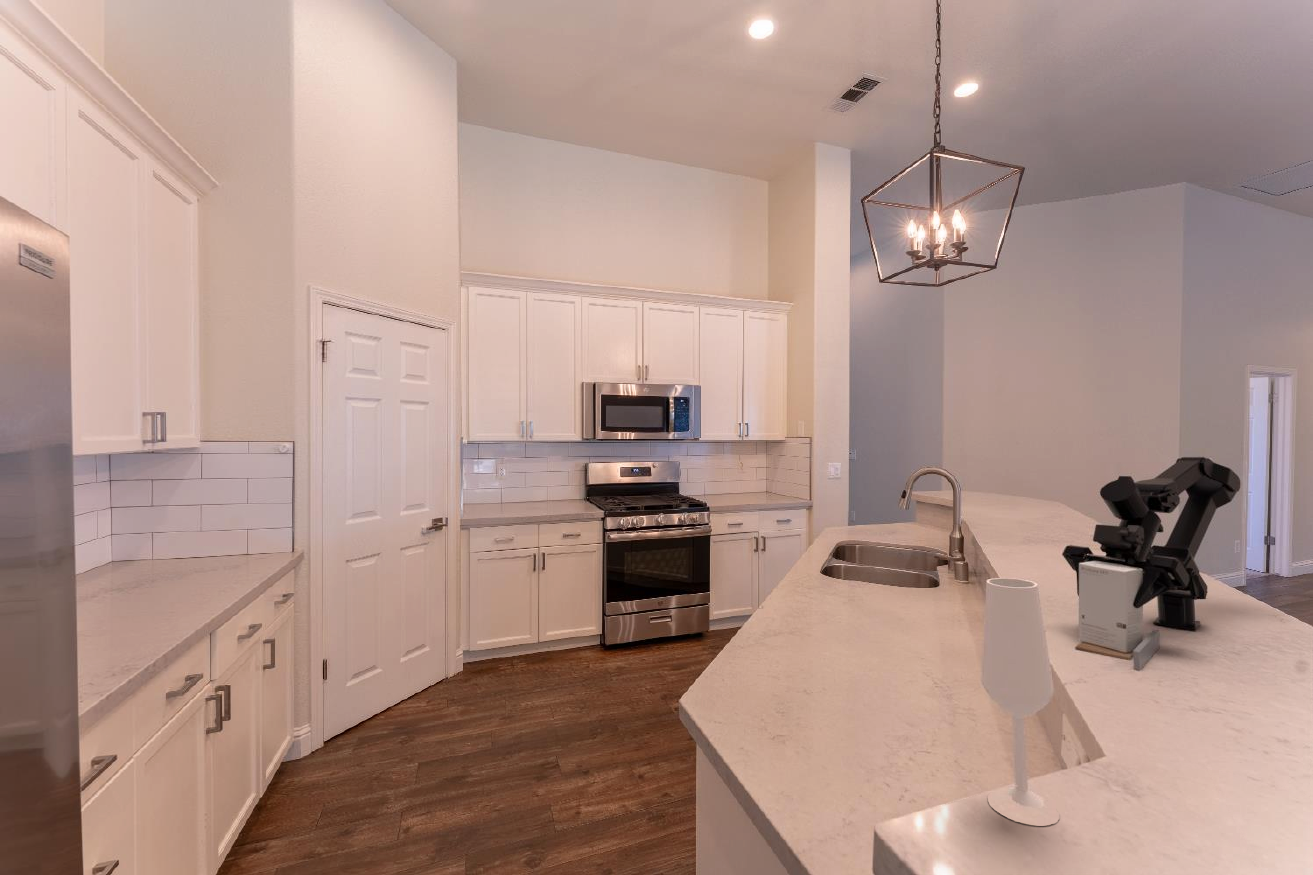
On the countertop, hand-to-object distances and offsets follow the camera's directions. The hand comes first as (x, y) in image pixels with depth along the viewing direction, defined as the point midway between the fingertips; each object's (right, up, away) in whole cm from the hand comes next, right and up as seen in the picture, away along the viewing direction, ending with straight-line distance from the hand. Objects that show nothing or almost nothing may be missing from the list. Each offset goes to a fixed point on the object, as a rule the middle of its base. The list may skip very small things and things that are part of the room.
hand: (1106, 601), depth 109 cm
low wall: (+3, -8, -6) cm, 10 cm away
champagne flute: (-44, -9, -46) cm, 65 cm away
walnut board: (+1, -8, 0) cm, 8 cm away
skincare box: (+1, -8, 0) cm, 8 cm away
